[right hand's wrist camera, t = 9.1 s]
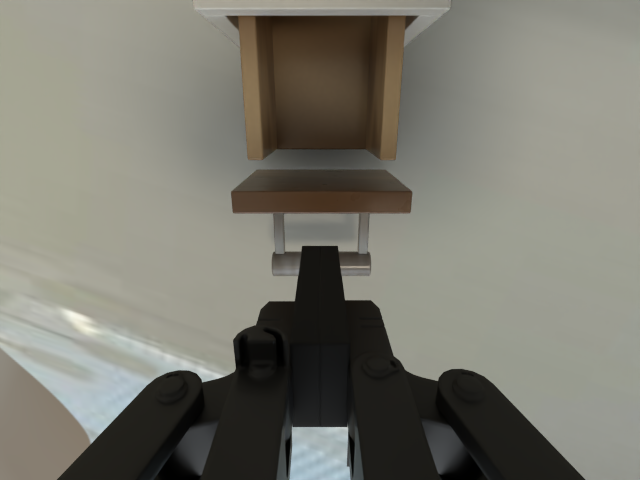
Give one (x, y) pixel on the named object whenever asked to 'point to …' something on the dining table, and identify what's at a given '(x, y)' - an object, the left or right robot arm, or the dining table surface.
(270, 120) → the drawer
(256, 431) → the right robot arm
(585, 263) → the dining table surface
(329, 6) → the cabinet
